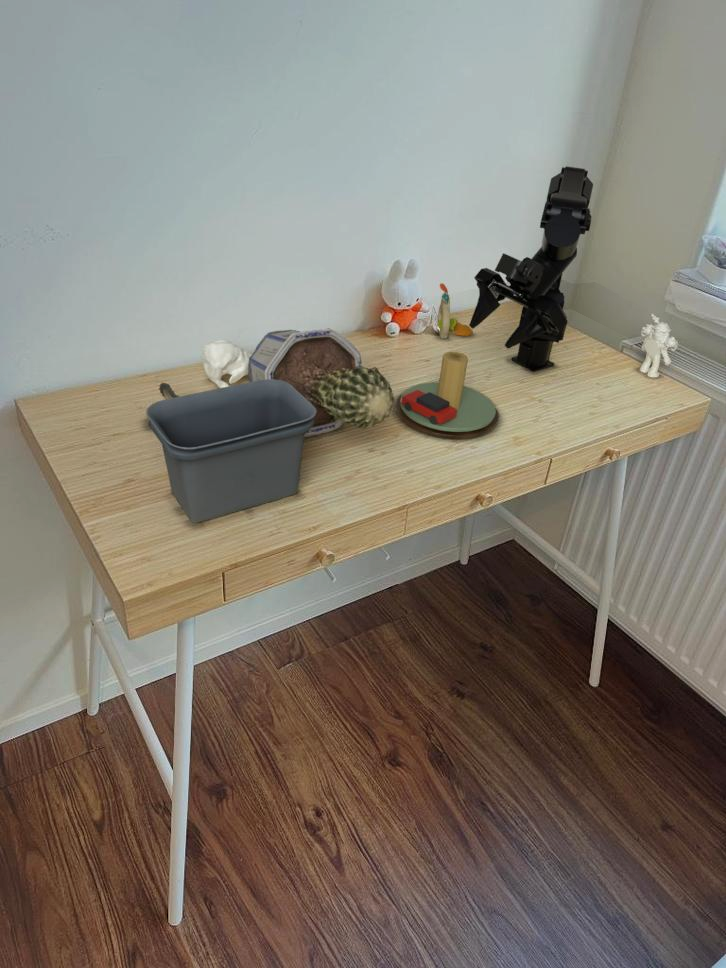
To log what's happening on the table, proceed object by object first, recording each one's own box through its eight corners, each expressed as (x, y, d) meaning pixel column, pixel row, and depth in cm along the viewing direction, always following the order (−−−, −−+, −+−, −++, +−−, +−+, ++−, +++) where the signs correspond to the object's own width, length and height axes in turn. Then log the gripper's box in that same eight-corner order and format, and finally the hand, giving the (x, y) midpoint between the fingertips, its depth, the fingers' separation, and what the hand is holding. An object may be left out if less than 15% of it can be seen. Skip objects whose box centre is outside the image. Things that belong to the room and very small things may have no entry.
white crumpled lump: (198, 336, 135) (257, 330, 142) (196, 380, 140) (254, 372, 147) (214, 350, 131) (275, 343, 138) (212, 395, 136) (271, 386, 143)
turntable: (441, 377, 147) (448, 328, 141) (514, 411, 138) (524, 361, 132) (380, 403, 137) (385, 351, 131) (454, 442, 127) (463, 389, 122)
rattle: (469, 346, 163) (477, 294, 156) (430, 340, 164) (437, 287, 157) (472, 333, 169) (481, 282, 162) (435, 327, 170) (442, 276, 163)
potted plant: (226, 325, 126) (326, 354, 103) (318, 313, 136) (428, 337, 113) (235, 428, 133) (331, 476, 110) (322, 409, 142) (427, 450, 119)
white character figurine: (627, 364, 161) (643, 310, 154) (641, 362, 163) (658, 308, 156) (656, 384, 154) (674, 328, 148) (671, 381, 156) (690, 326, 149)
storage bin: (181, 542, 103) (174, 451, 94) (142, 482, 113) (133, 396, 105) (320, 501, 113) (325, 416, 105) (273, 450, 123) (274, 369, 115)
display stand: (450, 380, 148) (450, 377, 148) (519, 423, 137) (520, 419, 136) (374, 403, 139) (375, 399, 138) (442, 450, 127) (443, 446, 127)
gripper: (491, 221, 133) (433, 291, 134) (570, 254, 121) (507, 331, 122) (515, 260, 142) (461, 326, 142) (592, 295, 129) (532, 367, 130)
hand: (488, 336), depth 134 cm, fingers open, 9 cm apart
